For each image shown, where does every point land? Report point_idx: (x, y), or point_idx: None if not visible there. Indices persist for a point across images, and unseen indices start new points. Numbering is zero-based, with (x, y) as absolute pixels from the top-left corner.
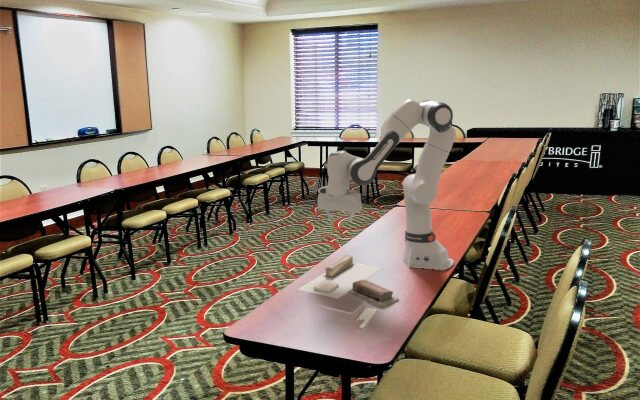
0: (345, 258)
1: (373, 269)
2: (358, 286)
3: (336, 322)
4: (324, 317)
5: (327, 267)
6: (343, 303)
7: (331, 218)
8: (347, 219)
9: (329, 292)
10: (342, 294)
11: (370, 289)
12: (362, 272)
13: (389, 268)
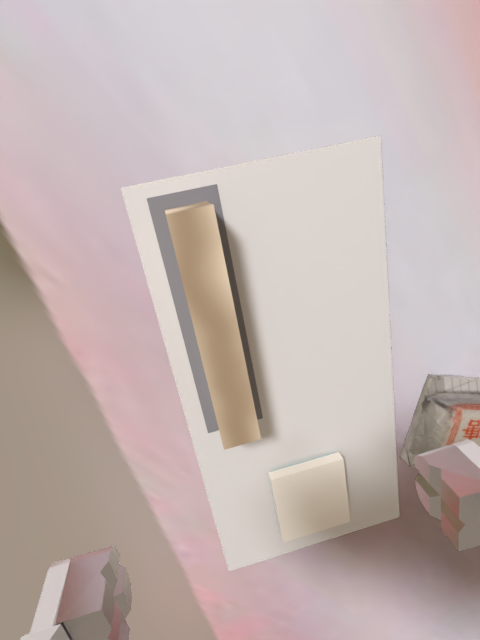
0: (213, 279)
1: (355, 193)
2: None
3: (469, 589)
4: (428, 596)
5: (235, 446)
6: (427, 517)
7: (124, 602)
8: (443, 527)
9: None
10: (393, 487)
11: None
12: (331, 269)
13: (411, 103)
